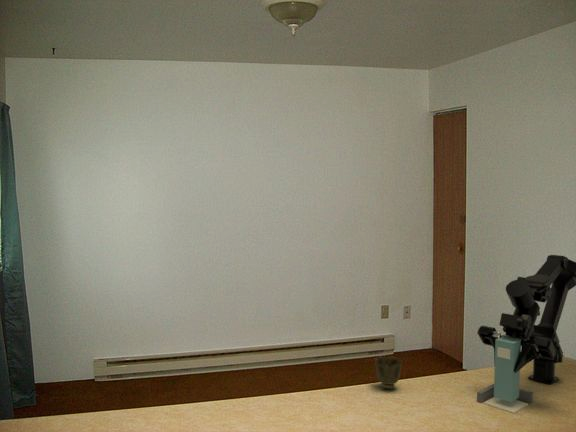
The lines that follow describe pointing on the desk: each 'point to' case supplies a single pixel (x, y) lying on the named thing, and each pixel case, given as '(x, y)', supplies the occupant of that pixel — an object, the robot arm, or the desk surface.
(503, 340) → the teal block
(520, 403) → the corner arena
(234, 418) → the desk surface
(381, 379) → the cup
